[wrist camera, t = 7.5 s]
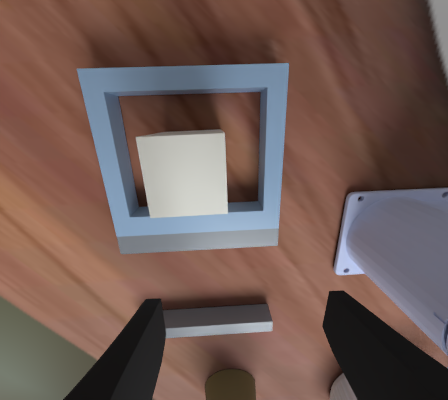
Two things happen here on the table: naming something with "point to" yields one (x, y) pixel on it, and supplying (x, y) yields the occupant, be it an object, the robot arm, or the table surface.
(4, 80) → the table surface
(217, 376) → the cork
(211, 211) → the cream white block
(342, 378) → the ramekin
